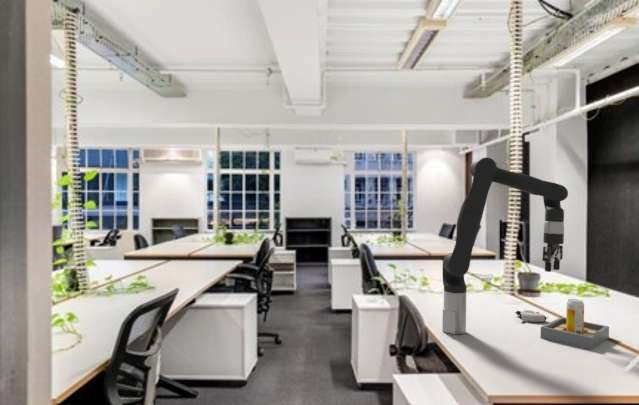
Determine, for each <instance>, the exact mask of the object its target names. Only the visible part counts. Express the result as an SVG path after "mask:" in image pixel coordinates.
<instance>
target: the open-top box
mask: <svg viewBox="0 0 639 405" xmlns="http://www.w3.org/2000/svg"><path fill="white" fill-rule="evenodd" d="M562 323H564V324H566V317H558V318H556V319H555V320H552V321H550V322H548V323H546V324H544V325H542V326H540V339H544V340H547V341H550V342H551V341H552V342H555V343H556V342H557V343H559V344H565V345H569V346H573V347H577V348H580V349H581V348H582V349H586V350H589V351H591V350H593V349H595V348H596V347H598V346H599V345H601V344H602V343H604V342H605V341H606V340H608V339H609V338H610V326H608V325H603V324H597V323H593V322H588V321H584V328H588V329H593V330H598V331H597V332H595V333H593V334H592V335H590V336H585V335H580V334H575V333H571V332H566V331H562V330H557V329H552V328H554V327H556V326H558V325H560V324H562Z"/></svg>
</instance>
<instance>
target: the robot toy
mask: <svg viewBox="0 0 639 405" xmlns="http://www.w3.org/2000/svg"><path fill="white" fill-rule="evenodd" d="M514 313H515V314H516V315H517V317H518V318H519V319H520V320H521V321H522V322H523V323H525V324H527V323H530V322H532V323H544V322H545V321H546V320H547V319H549V316H545V315H544V314H543V313H540V312H539V311H538V312H535V311H534V310H532V309H531V310H530V309H523V310H522V311H519V310H517V311H514Z"/></svg>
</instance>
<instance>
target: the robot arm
mask: <svg viewBox="0 0 639 405" xmlns="http://www.w3.org/2000/svg"><path fill="white" fill-rule="evenodd" d="M469 172H470V175H471V176H472V178H473V179H472V182H471V187H470V189H469V191H468V193H467V195H466V196H465V199H464V200H463V202H462V204H461V207H460V210H459V213H458V216H457V221H456V239H455V245H454V247H453V251H452V252H449V253H448V254H446V255H445V256H444V258H443V260H442V284H443V309H442V328H441V329H442V332H443V333H447V334H450V335H463V334H466V333H467V284H466V281H465V275H466V274H467V273H468V271H469V269H470V266H471V265H470V264H471V259H472V253H473V247H474V245H475V242H476V239H477V235H478V232H479V229H480V226H481V222H482V218H483V215H484V211H485V207H486V202H487V198H488V196H489V192H490V188H491V186H492V183H496V184H500V185H504V186H506V187H510V188H512V189H515V190H518V191H521V192H524V193H527V194H530V195H533V196H539V197H543V198H542V200H543V205H544V212H545V213H544V224H543V239H542V240H543V243H544V244H546V246H543V247H542V248H543V249H542V259H541V261H543V262H544V271H545V272H547V273H548V272H549V273H550V272H552V262H553V270H554V271H559V270H560V269H561V268H560V264H561V260H563V254H564V252H563V250H564V249H563V248H564V247H563V246H564V245H563V244H564V241H565V222H564V221H565V211H564V209H563V207H561V202H562V201H565V200H566V199H567V197H568V196H569V192H568V189H567V187H566V186H564V185H563V184H560V183H556V182H551V181H546V180H543V179H540V178H538V177H534V176H531V175H529V174H524V173H522V172H521V173H520V172H515V171H510V170H506V169H503V168H500V167H497V163H496V161H495V160H494V159H493V158H492V157H481V158H478V159H476V160H475V161H473V162H472V163H471V164H470V167H469Z"/></svg>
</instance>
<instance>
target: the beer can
mask: <svg viewBox="0 0 639 405" xmlns="http://www.w3.org/2000/svg"><path fill="white" fill-rule="evenodd" d="M565 318H566V331H568V332H573V333H577V334H584V322H585V303H584V301H583V300H580V299H575V298H571V299H570V298H569V299H567V301H566V317H565Z"/></svg>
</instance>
